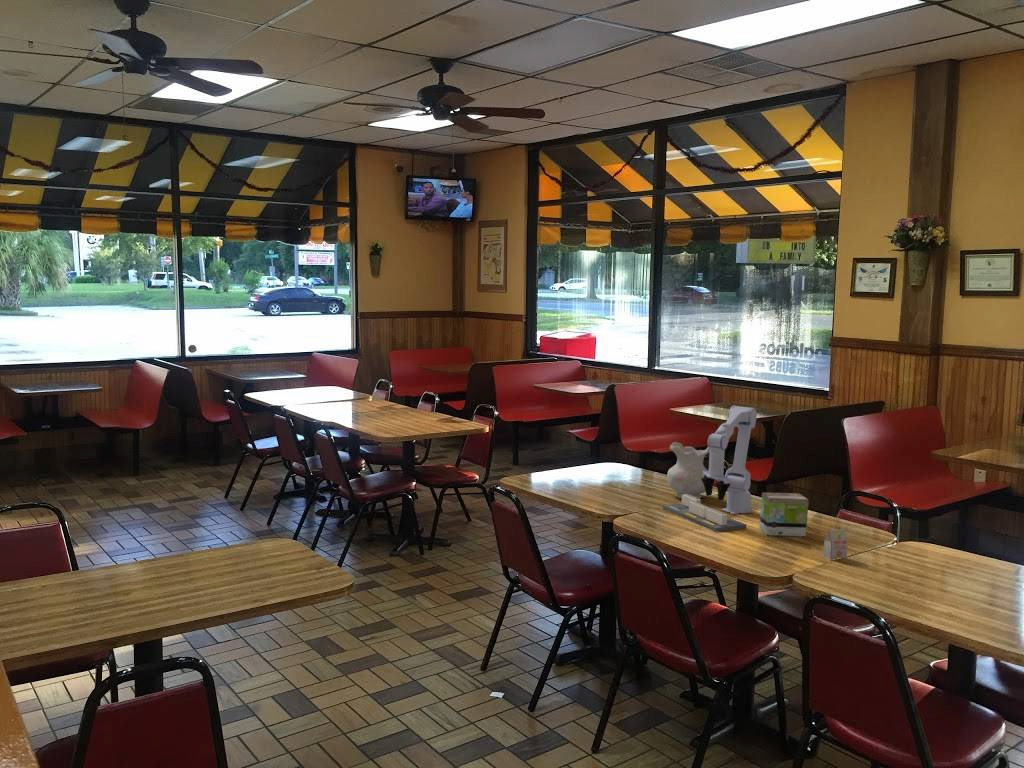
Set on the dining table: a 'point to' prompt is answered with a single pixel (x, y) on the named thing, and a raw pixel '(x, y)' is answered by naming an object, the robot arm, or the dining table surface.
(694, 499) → the slider
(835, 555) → the white gable top carton
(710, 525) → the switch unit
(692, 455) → the ceramic pitcher
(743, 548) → the dining table surface
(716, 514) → the slider
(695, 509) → the slider
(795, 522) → the tea box
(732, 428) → the robot arm
